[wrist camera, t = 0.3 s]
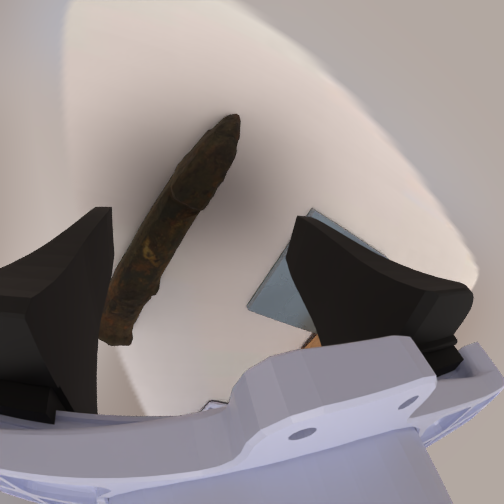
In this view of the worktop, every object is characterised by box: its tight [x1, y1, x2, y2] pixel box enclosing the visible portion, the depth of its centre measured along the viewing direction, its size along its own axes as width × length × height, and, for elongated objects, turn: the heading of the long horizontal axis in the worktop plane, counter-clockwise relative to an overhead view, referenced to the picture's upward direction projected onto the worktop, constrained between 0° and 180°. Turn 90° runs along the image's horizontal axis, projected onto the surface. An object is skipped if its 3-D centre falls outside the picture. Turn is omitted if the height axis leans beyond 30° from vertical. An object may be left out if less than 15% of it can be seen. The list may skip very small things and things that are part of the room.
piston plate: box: [247, 209, 388, 334], centre depth 26 cm, size 10×10×4 cm
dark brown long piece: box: [98, 114, 241, 346], centre depth 20 cm, size 19×4×5 cm, turn 142°
